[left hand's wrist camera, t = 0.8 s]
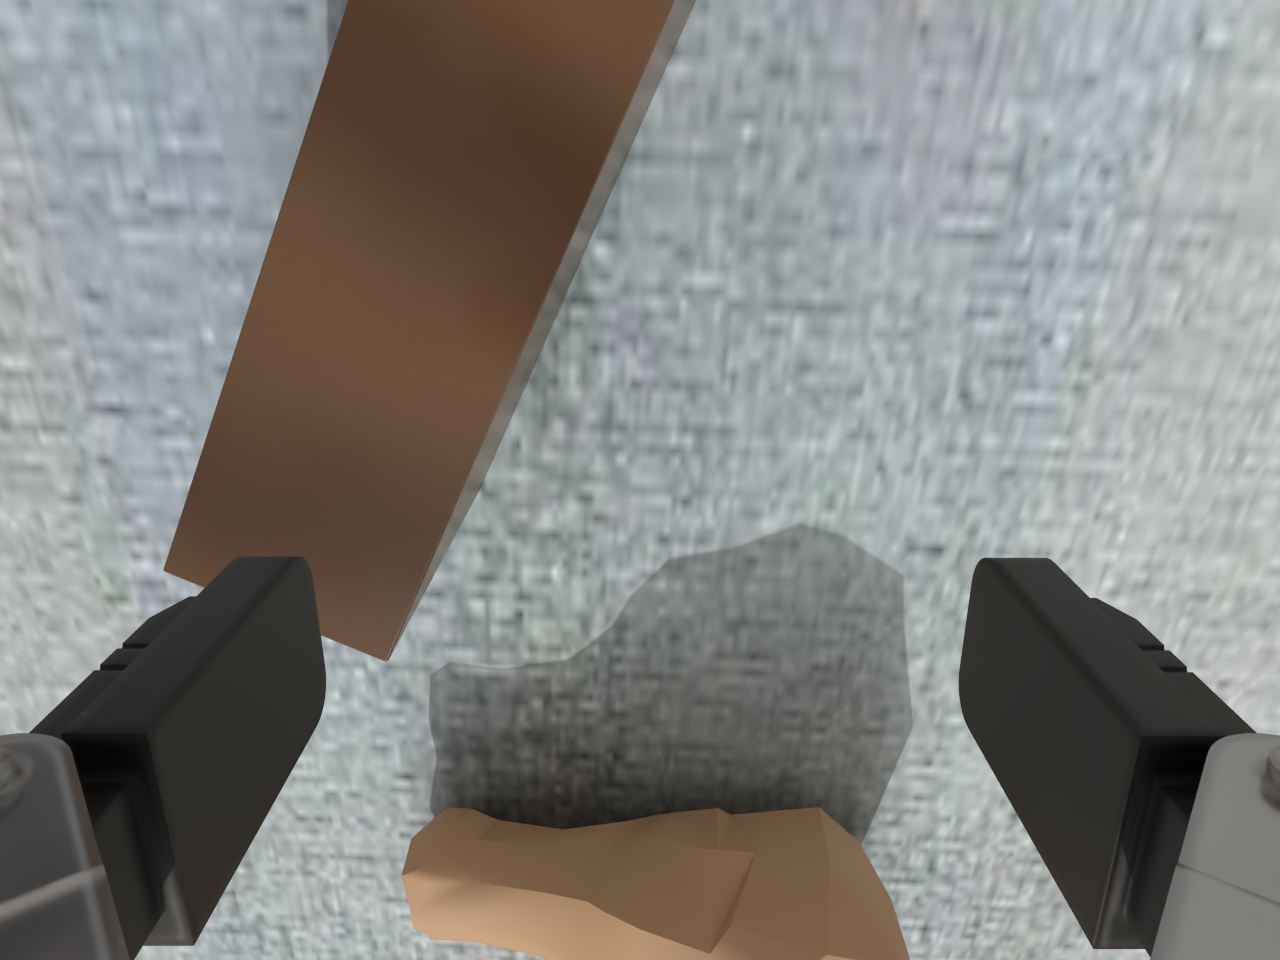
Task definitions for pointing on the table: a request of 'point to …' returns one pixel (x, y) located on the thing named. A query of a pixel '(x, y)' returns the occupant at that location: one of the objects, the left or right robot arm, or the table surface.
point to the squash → (654, 888)
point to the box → (414, 287)
